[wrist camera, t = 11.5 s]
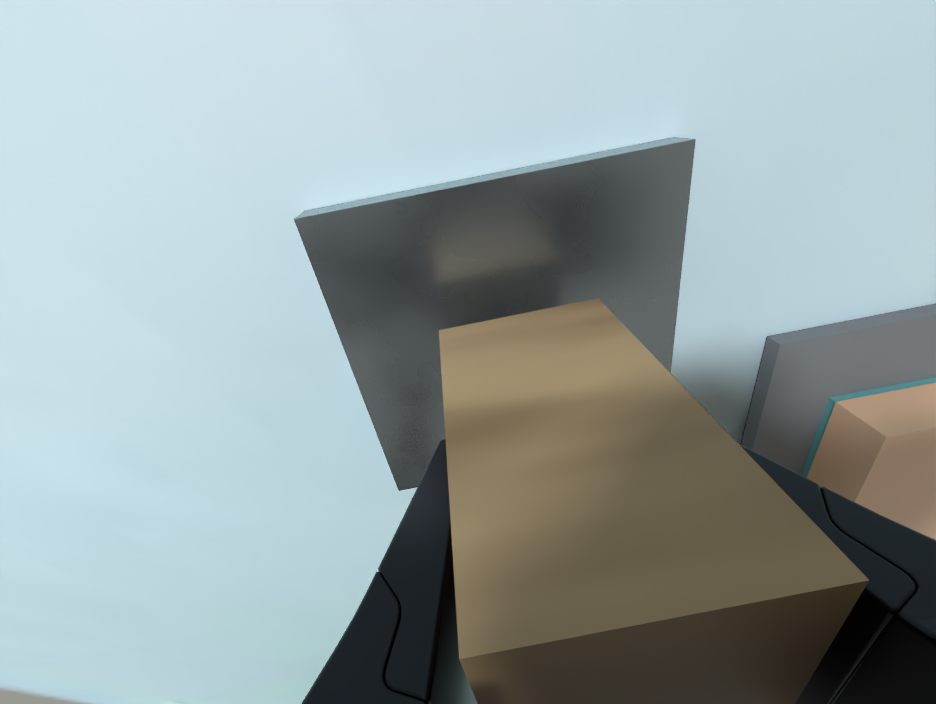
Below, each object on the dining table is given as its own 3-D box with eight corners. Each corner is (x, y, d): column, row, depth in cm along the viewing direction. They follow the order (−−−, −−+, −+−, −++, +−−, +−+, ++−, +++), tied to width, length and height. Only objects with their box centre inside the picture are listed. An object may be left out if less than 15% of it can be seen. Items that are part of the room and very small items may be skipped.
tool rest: (650, 421, 16) (663, 439, 15) (400, 470, 16) (398, 490, 15) (673, 137, 11) (695, 139, 10) (304, 210, 11) (294, 219, 10)
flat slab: (980, 543, 17) (1098, 396, 13) (819, 573, 17) (886, 437, 13) (926, 501, 19) (1013, 361, 15) (780, 528, 19) (829, 396, 15)
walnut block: (599, 421, 12) (778, 731, 6) (467, 447, 12) (509, 782, 6) (598, 298, 10) (869, 580, 4) (438, 330, 10) (459, 658, 4)
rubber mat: (921, 544, 22) (932, 554, 22) (706, 584, 22) (713, 596, 22) (1106, 270, 14) (1132, 276, 14) (767, 336, 14) (780, 344, 14)
